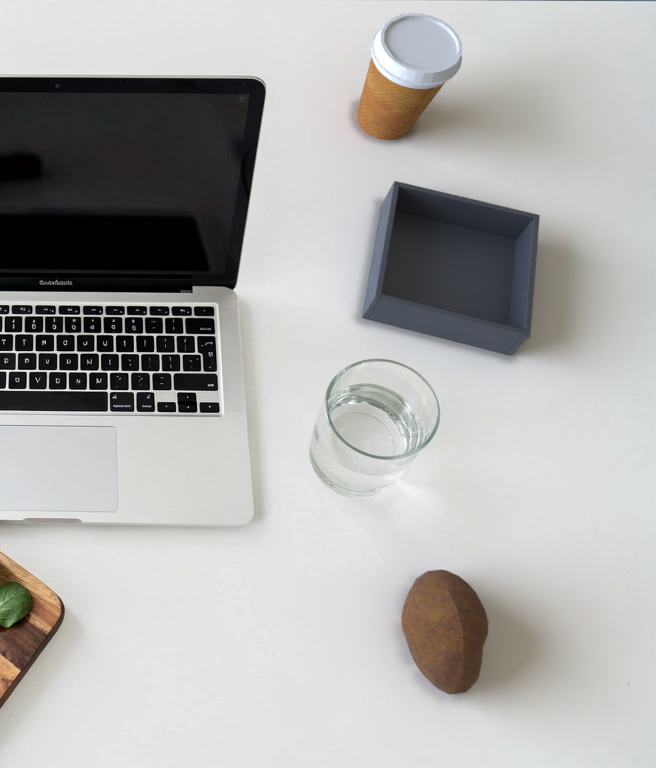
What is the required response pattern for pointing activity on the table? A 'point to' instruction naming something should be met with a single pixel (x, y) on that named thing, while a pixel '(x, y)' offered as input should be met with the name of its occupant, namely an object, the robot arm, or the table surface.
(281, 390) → the table surface
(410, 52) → the disposable coffee cup
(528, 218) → the bin
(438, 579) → the potato
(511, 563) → the table surface
